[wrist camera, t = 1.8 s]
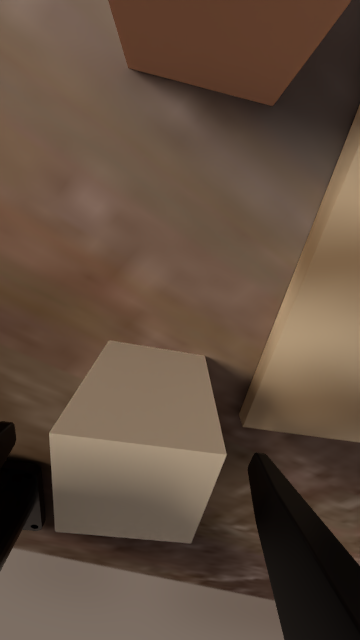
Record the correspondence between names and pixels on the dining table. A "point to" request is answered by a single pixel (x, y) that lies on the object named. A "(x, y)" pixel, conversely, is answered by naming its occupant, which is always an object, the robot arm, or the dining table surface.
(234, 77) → the terracotta block
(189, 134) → the dining table surface
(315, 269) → the tan board
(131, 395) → the cream block
